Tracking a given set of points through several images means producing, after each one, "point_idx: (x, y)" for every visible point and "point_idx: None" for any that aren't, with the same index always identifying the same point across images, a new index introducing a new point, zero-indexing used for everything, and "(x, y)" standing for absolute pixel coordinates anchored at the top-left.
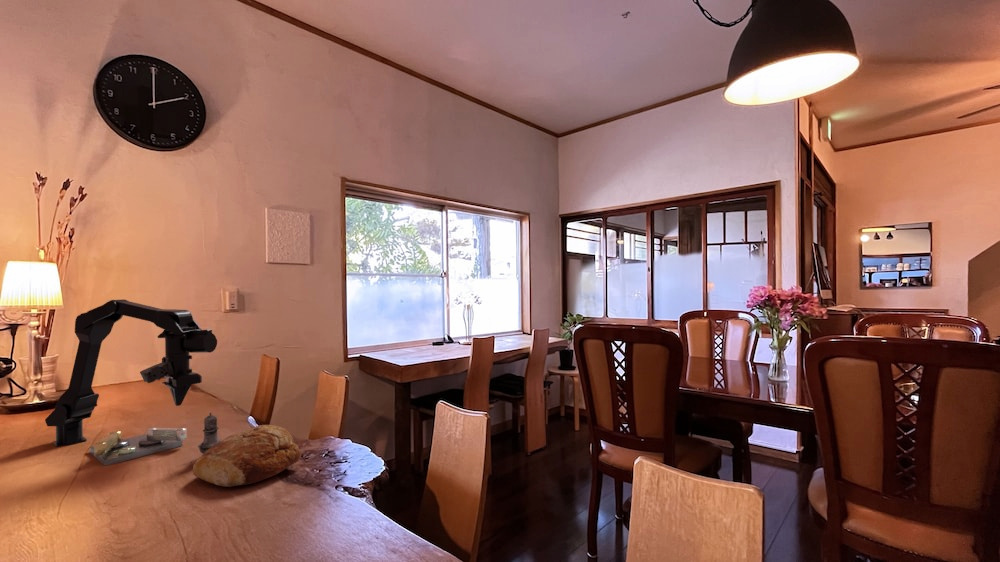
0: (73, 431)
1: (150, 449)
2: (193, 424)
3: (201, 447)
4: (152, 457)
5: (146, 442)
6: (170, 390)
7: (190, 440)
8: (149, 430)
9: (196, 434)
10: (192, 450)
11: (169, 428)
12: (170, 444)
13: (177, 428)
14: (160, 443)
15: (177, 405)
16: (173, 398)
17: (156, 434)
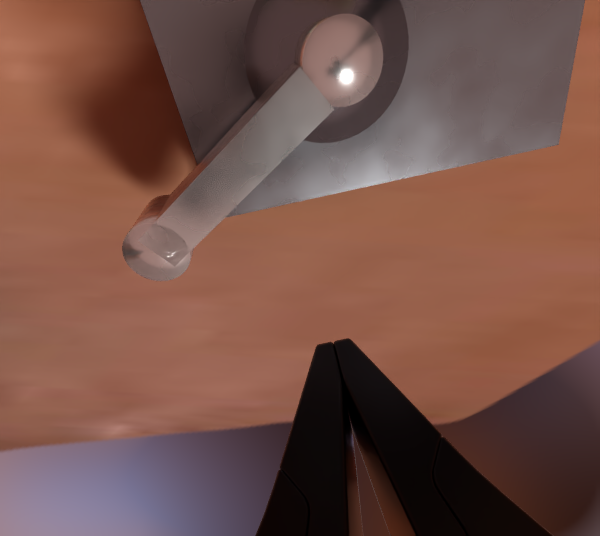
0: None
1: (153, 32)
2: (573, 276)
3: None
4: (77, 38)
5: (265, 11)
6: (502, 511)
7: (292, 245)
8: (309, 38)
9: (379, 274)
10: (96, 239)
11: (239, 188)
12: (196, 156)
13: (196, 234)
14: (243, 105)
15: (317, 352)
16: (381, 396)
17: (272, 90)
